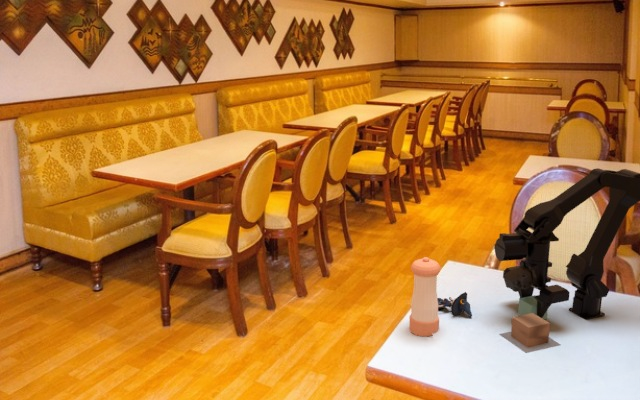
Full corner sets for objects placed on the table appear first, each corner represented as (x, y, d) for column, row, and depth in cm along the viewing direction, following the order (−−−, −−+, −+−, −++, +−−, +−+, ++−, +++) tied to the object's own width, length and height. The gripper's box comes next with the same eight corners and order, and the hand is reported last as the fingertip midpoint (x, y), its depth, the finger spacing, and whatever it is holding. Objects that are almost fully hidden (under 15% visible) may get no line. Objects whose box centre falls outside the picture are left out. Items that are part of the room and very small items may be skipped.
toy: (431, 288, 170) (476, 288, 159) (436, 312, 170) (481, 315, 159) (412, 296, 164) (458, 297, 153) (418, 322, 165) (463, 325, 154)
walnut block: (531, 331, 149) (532, 312, 147) (548, 342, 143) (549, 323, 142) (510, 336, 146) (512, 317, 145) (527, 347, 141) (528, 327, 140)
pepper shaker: (432, 339, 147) (434, 264, 142) (404, 332, 151) (405, 259, 146) (443, 327, 153) (445, 255, 148) (416, 320, 157) (417, 250, 152)
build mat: (532, 329, 151) (532, 326, 151) (560, 347, 142) (561, 344, 142) (498, 336, 148) (498, 334, 148) (525, 355, 139) (525, 352, 139)
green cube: (533, 312, 160) (534, 295, 159) (546, 320, 156) (548, 302, 154) (517, 316, 158) (519, 298, 157) (530, 324, 154) (532, 305, 153)
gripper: (487, 250, 159) (484, 305, 163) (535, 274, 142) (530, 335, 146) (522, 245, 162) (518, 299, 166) (573, 268, 145) (568, 327, 149)
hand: (532, 314), depth 157 cm, fingers closed on green cube, 5 cm apart
